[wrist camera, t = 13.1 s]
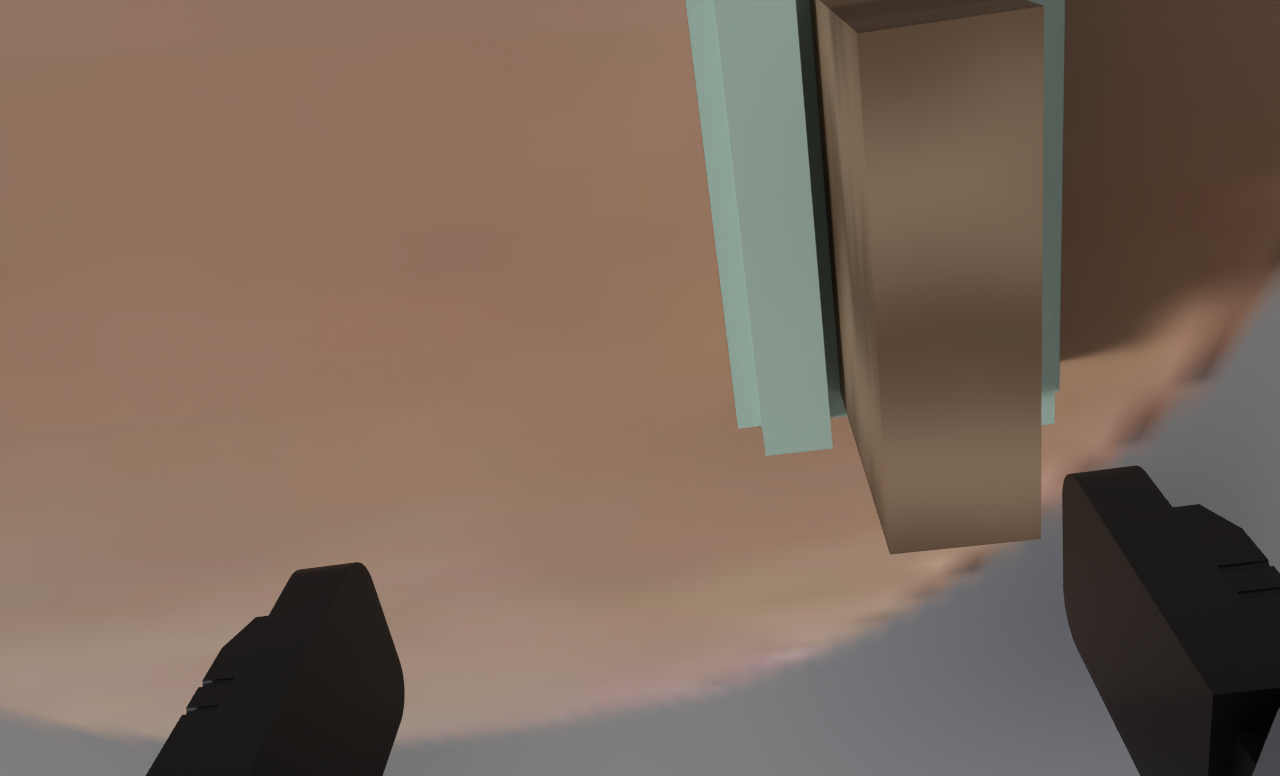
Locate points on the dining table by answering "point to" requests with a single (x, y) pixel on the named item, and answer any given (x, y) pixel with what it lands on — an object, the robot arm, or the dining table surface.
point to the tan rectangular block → (937, 257)
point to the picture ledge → (808, 213)
